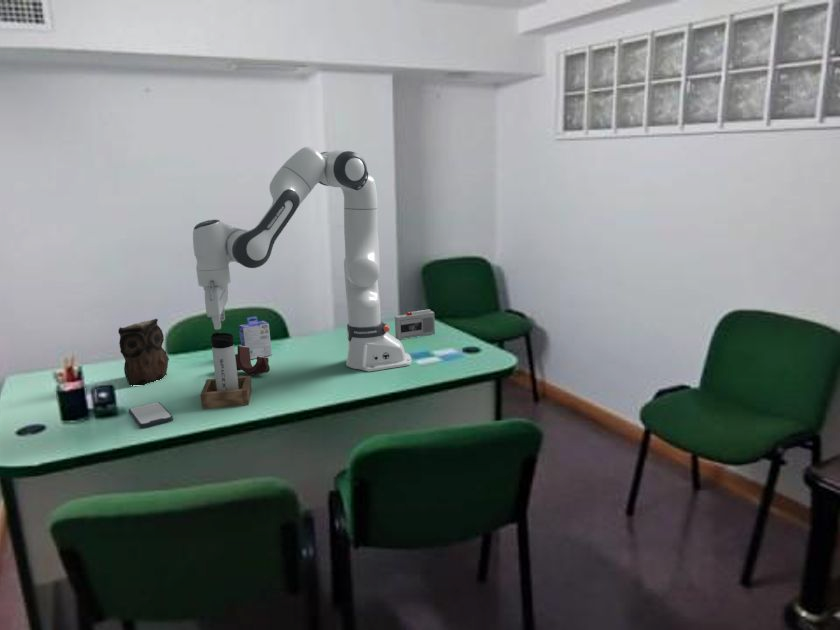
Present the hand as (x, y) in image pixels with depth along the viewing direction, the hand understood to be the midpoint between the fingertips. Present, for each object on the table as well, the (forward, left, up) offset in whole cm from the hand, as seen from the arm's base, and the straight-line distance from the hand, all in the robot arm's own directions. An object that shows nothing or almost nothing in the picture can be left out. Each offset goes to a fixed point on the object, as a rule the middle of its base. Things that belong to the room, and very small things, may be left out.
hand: (219, 324), depth 184 cm
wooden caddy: (0, -2, -23) cm, 23 cm away
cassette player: (-66, -50, -23) cm, 86 cm away
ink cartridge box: (-6, -41, -23) cm, 48 cm away
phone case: (+20, +8, -24) cm, 32 cm away
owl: (+29, -26, -23) cm, 45 cm away
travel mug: (0, 0, -23) cm, 23 cm away
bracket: (-4, -23, -23) cm, 33 cm away
